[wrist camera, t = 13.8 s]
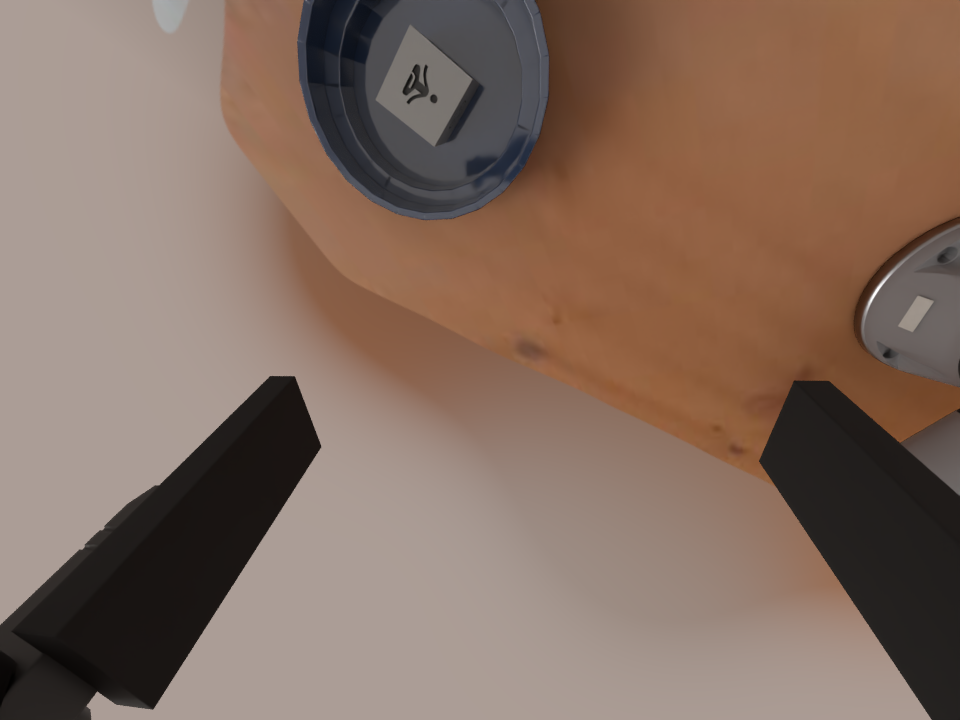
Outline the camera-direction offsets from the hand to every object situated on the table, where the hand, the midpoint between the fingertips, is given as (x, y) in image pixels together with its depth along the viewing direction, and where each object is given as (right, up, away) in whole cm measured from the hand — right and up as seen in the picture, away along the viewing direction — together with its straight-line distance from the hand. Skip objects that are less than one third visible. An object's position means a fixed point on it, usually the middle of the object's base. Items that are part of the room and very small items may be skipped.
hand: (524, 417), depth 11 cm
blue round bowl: (-5, +23, +21) cm, 32 cm away
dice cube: (-5, +23, +20) cm, 31 cm away
